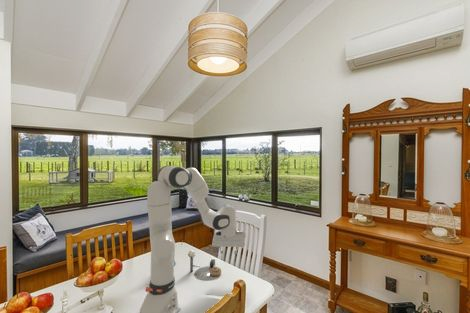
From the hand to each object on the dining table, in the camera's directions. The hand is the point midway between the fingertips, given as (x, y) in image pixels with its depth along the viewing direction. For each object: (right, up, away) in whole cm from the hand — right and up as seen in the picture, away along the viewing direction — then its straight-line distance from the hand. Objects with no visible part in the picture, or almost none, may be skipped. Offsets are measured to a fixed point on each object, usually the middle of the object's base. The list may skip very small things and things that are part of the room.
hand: (228, 253), depth 142 cm
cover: (-8, -14, +2) cm, 16 cm away
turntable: (-13, -15, +5) cm, 20 cm away
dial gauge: (-22, -15, +5) cm, 27 cm away
